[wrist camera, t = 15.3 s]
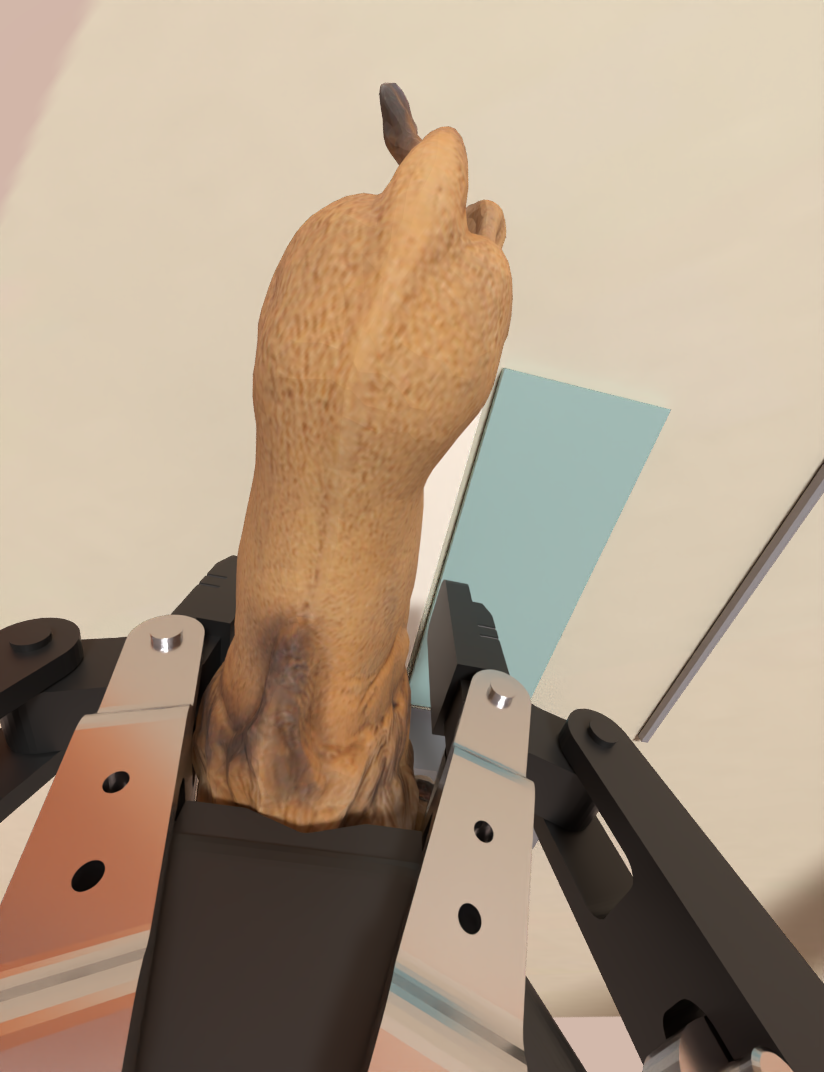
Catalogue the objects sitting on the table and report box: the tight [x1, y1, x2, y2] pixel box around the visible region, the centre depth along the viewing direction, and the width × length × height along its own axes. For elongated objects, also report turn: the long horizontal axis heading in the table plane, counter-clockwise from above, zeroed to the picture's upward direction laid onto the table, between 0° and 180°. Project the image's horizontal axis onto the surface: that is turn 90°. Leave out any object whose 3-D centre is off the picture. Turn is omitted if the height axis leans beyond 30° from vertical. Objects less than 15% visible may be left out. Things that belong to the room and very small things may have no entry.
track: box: [405, 368, 824, 742], centre depth 15 cm, size 17×14×1 cm
